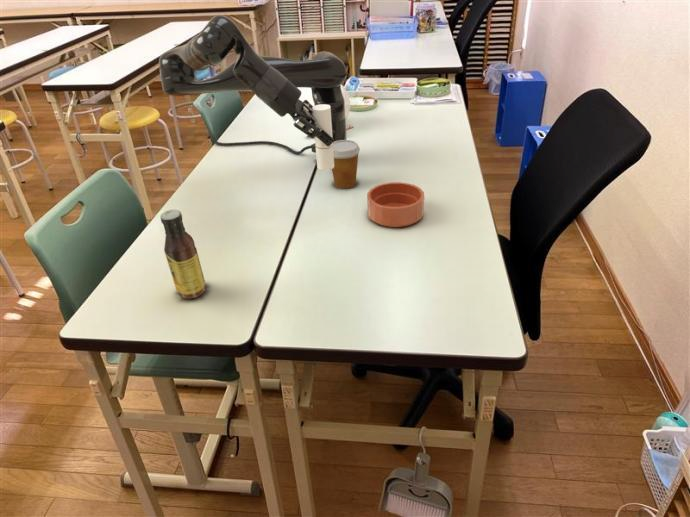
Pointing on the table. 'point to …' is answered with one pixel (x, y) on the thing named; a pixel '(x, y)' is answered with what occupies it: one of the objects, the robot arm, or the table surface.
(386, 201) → the bowl
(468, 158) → the table surface
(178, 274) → the sauce bottle
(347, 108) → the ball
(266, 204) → the table surface
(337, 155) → the disposable coffee cup
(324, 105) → the tube
